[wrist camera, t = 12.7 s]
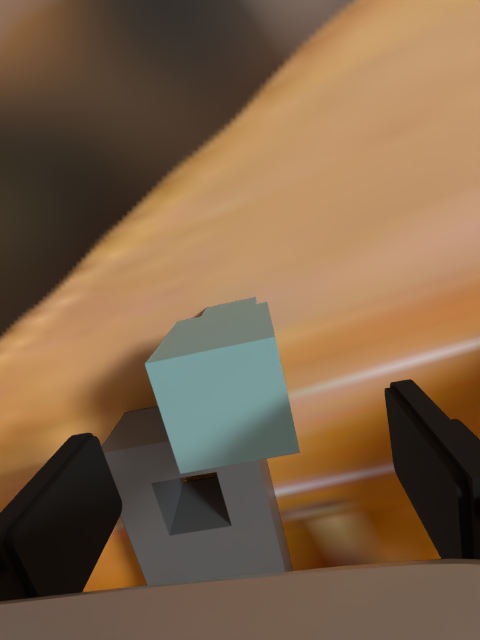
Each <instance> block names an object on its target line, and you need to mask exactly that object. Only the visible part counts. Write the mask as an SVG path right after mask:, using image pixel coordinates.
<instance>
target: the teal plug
mask: <svg viewBox="0 0 480 640" xmlns="http://www.w3.org/2000/svg"><path fill="white" fill-rule="evenodd" d="M145 367H146V370H147V373H148V376H149V379H150V382H151V385H152V388H153V391H154V394H155V397H156V401H157V404H158V407H159V410H160V413H161V416H162V419H163V422H164V425H165V428H166V431H167V434H168V437H169V441H170V444H171V447H172V450H173V453H174V456H175V459H176V462H177V465H178V468H179V471H180V474H182V473H188V472H193V471H199V470H205V469H210V468H216V467H222V466H227V465H233V464H239V463H244V462H250V461H255V460H261V459H267V458H272V457H278V456H284V455H289V454H295V453H300V451H299V446H298V441H297V437H296V432H295V427H294V423H293V418H292V413H291V408H290V404H289V399H288V394H287V390H286V385H285V380H284V376H283V371H282V366H281V362H280V357H279V352H278V347H277V343H276V338H275V334H274V329H273V325H272V321H271V317H270V312H269V308H268V304H267V302H264V303H260V304H257V302H256V297H253V298H249V299H244V300H240V301H235V302H231V303H226V304H222V305H217V306H213V307H208V308H206V309H205V310H204V312H203V314H202V316H200V317H196V318H191V319H186V320H182V321H178V322H177V323H176V324H175V326H174V327H173V328H172V329H171V331H170V332H169V333H168V335H167V336H166V337H165V338H164V340H163V341H162V342H161V344H160V345H159V346H158V347H157V349H156V350H155V351H154V352H153V354H152V355H151V356H150V358H149V359H148V360H147V361H146V363H145Z"/></svg>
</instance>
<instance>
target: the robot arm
mask: <svg viewBox="0 0 480 640" xmlns="http://www.w3.org/2000/svg"><path fill="white" fill-rule="evenodd" d="M385 400H386V408H387V416H388V424H389V432H390V440H391V448H392V456H393V463H394V468H395V471H396V474H397V476H398V478H399V480H400V482H401V484H402V486H403V488H404V490H405V492H406V493H407V495H408V497H409V499H410V501H411V503H412V505H413V506H414V508H415V510H416V512H417V514H418V516H419V518H420V520H421V521H422V523H423V525H424V527H425V529H426V531H427V533H428V535H429V536H430V538H431V540H432V542H433V544H434V546H435V548H436V549H437V551H438V553H439V555H440V557H441V559H435V560H416V561H398V562H384V563H374V564H364V565H351V566H339V567H328V568H318V569H307V570H297V571H287V572H276V573H266V574H255V575H245V576H235V577H225V578H215V579H205V580H195V581H185V582H176V583H166V584H156V585H147V586H137V587H127V588H118V589H109V590H100V591H90V592H82V591H83V589H84V587H85V585H86V583H87V581H88V579H89V577H90V575H91V573H92V571H93V569H94V567H95V565H96V563H97V561H98V559H99V557H100V555H101V553H102V551H103V549H104V547H105V545H106V543H107V541H108V539H109V537H110V535H111V533H112V531H113V529H114V527H115V525H116V523H117V521H118V519H119V517H120V515H121V512H122V500H121V497H120V495H119V492H118V489H117V487H116V484H115V481H114V479H113V476H112V474H111V471H110V468H109V466H108V463H107V460H106V458H105V455H104V452H103V450H102V447H101V445H100V442H99V440H98V438H97V437H96V436H93V435H92V434H91V433H84V434H78V435H73V436H71V437H70V438H69V439H68V440H67V441H66V442H65V443H64V444H63V445H62V446H61V447H60V448H59V450H58V451H57V452H56V453H55V454H54V455H53V456H52V457H51V458H50V459H49V460H48V462H47V463H46V464H45V465H44V466H43V467H42V468H41V469H40V470H39V471H38V472H37V474H36V475H35V476H34V477H33V478H32V479H31V480H30V481H29V482H28V483H27V484H26V486H25V487H24V488H23V489H22V490H21V491H20V492H19V493H18V494H17V495H16V496H15V498H14V499H13V500H12V501H11V502H10V503H9V504H8V505H7V506H6V507H5V508H4V510H3V511H2V512H1V513H0V640H480V440H479V439H478V438H477V437H476V436H475V435H474V434H473V433H472V432H471V431H470V430H469V429H468V428H467V427H466V426H465V425H464V424H463V423H462V422H461V421H459V420H457V419H451V420H450V419H449V418H448V417H447V416H446V415H445V413H444V412H443V411H442V410H441V409H440V408H439V407H438V406H437V405H436V404H435V403H434V402H433V401H432V400H431V399H430V398H429V397H428V396H427V395H426V394H425V393H424V392H423V391H422V390H421V389H420V388H419V387H418V386H417V385H416V383H415V382H414V381H413V380H411V379H409V380H403V381H397V382H391V384H390V388H385Z"/></svg>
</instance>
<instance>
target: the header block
mask: <svg viewBox="0 0 480 640" xmlns="http://www.w3.org/2000/svg"><path fill="white" fill-rule="evenodd" d="M102 450H103V452H104V455H105V458H106V460H107V463H108V466H109V468H110V471H111V474H112V476H113V479H114V481H115V484H116V487H117V489H118V492H119V495H120V497H121V500H122V512H121V515H120V516H121V518H122V521H123V523H124V526H125V529H126V531H127V534H128V536H129V539H130V542H131V544H132V547H133V549H134V552H135V554H136V557H137V560H138V562H139V565H140V567H141V570H142V572H143V575H144V578H145V580H146V583H147V585H156V584H166V583H176V582H185V581H195V580H205V579H215V578H225V577H235V576H245V575H255V574H266V573H276V572H287V571H293V568H292V564H291V560H290V556H289V552H288V547H287V543H286V539H285V535H284V530H283V526H282V522H281V518H280V514H279V509H278V505H277V501H276V497H275V493H274V488H273V484H272V480H271V476H270V471H269V467H268V463H267V459H261V460H255V461H250V462H244V463H239V464H233V465H227V466H222V467H216V468H210V469H205V470H199V471H193V472H188V473H182V474H180V471H179V468H178V465H177V462H176V459H175V456H174V453H173V450H172V447H171V444H170V441H169V437H168V434H167V431H166V428H165V425H164V422H163V419H162V416H161V413H160V410H159V407H158V406H157V407H152V408H147V409H141V410H136V411H131V412H126V413H124V415H123V416H122V418H121V419H120V421H119V422H118V423H117V425H116V426H115V428H114V429H113V431H112V432H111V434H110V435H109V437H108V438H107V440H106V441H105V443H104V444H103V446H102ZM213 472H217V476H218V477H212V478H206V479H200V480H195V481H189V482H183V480H182V478H184V477H189V476H195V475H201V474H207V473H213Z"/></svg>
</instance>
